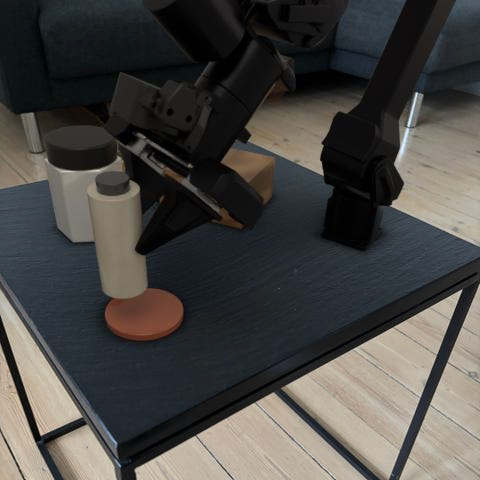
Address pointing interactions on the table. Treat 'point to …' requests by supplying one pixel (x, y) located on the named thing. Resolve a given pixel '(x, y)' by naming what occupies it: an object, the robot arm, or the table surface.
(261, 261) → the table surface
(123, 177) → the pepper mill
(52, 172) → the jar
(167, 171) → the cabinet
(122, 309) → the disc
